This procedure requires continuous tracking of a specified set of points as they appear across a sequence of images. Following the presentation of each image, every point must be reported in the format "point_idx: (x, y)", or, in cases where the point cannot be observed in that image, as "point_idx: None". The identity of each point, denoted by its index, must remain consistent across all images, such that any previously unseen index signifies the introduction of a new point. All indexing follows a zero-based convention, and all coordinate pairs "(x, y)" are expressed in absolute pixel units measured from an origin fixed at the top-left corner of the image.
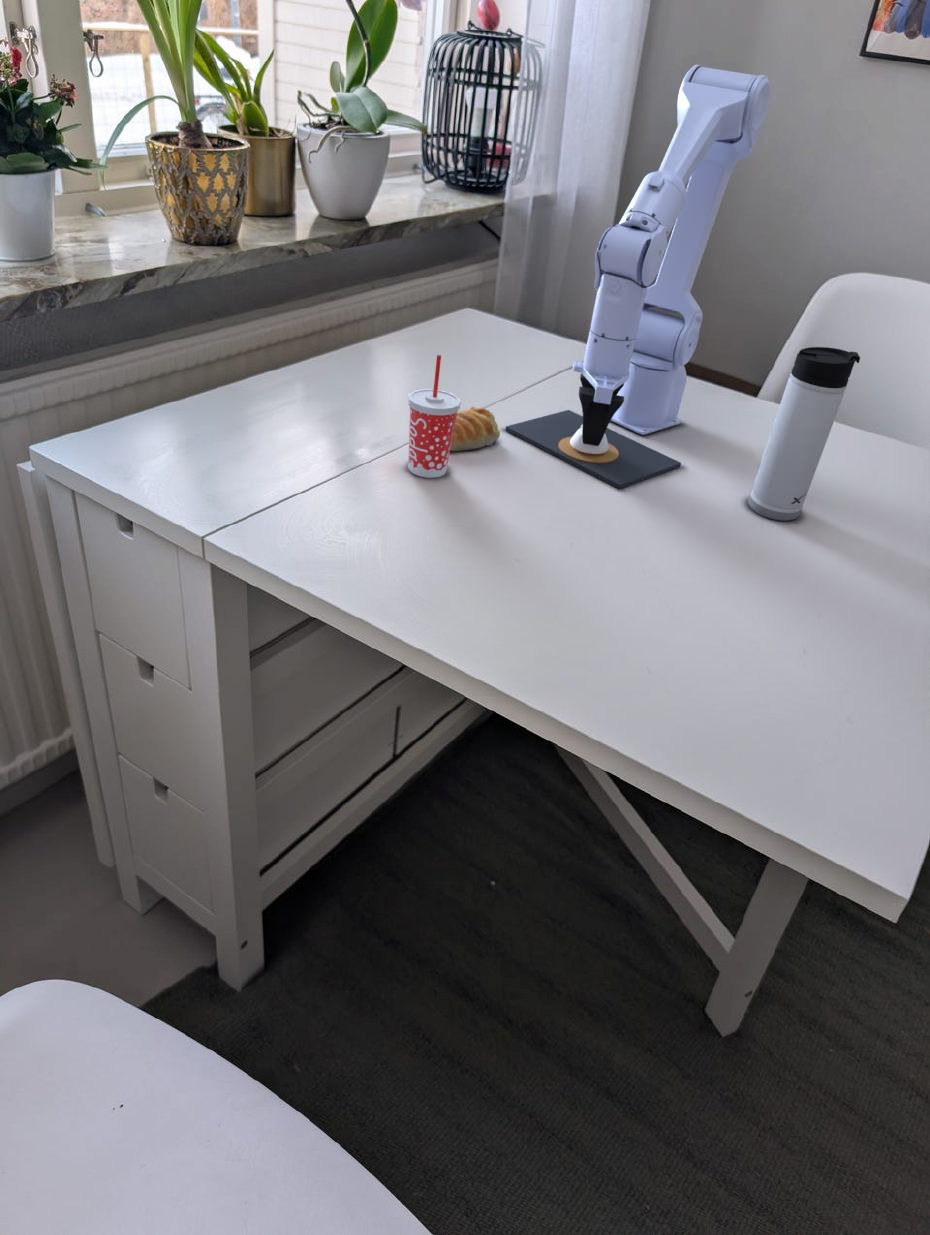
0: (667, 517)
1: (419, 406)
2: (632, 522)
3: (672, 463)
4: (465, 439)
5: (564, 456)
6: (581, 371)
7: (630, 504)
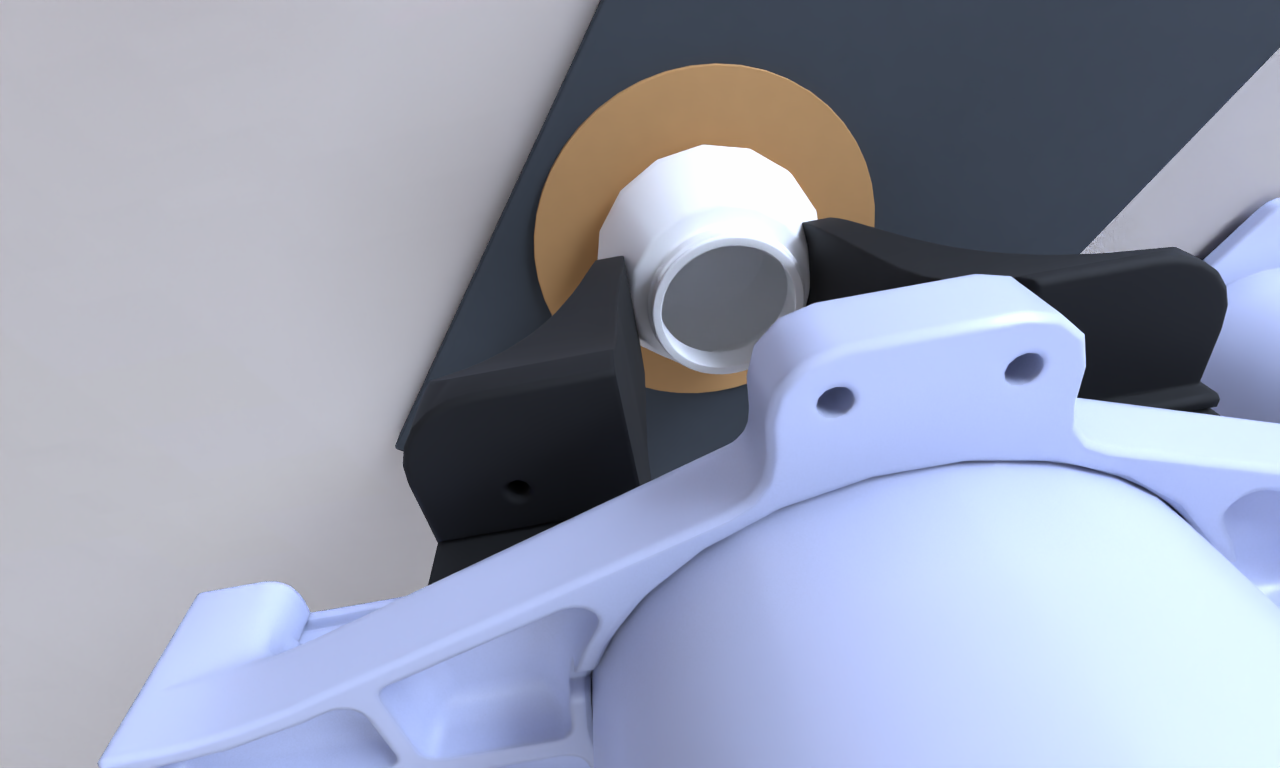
0: (305, 592)
1: None
2: (152, 520)
3: None
4: None
5: (534, 145)
6: (740, 451)
7: (298, 490)
